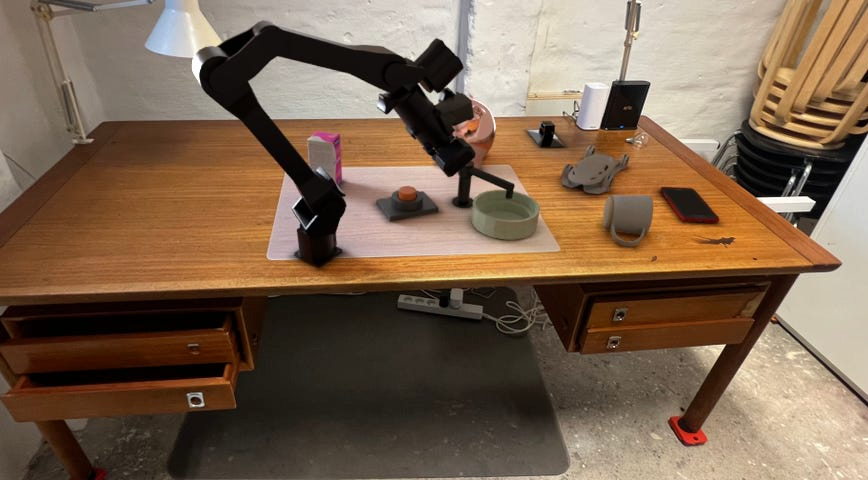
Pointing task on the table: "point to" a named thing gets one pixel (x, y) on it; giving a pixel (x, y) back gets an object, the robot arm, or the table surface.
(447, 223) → the table surface
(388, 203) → the button panel
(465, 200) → the black faucet base
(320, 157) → the supplement box
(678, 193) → the cell phone
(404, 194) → the orange button
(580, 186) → the grey flat lobed piece
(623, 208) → the ceramic mug
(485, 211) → the basin
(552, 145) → the build plate
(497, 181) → the spout
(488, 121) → the piggy bank
